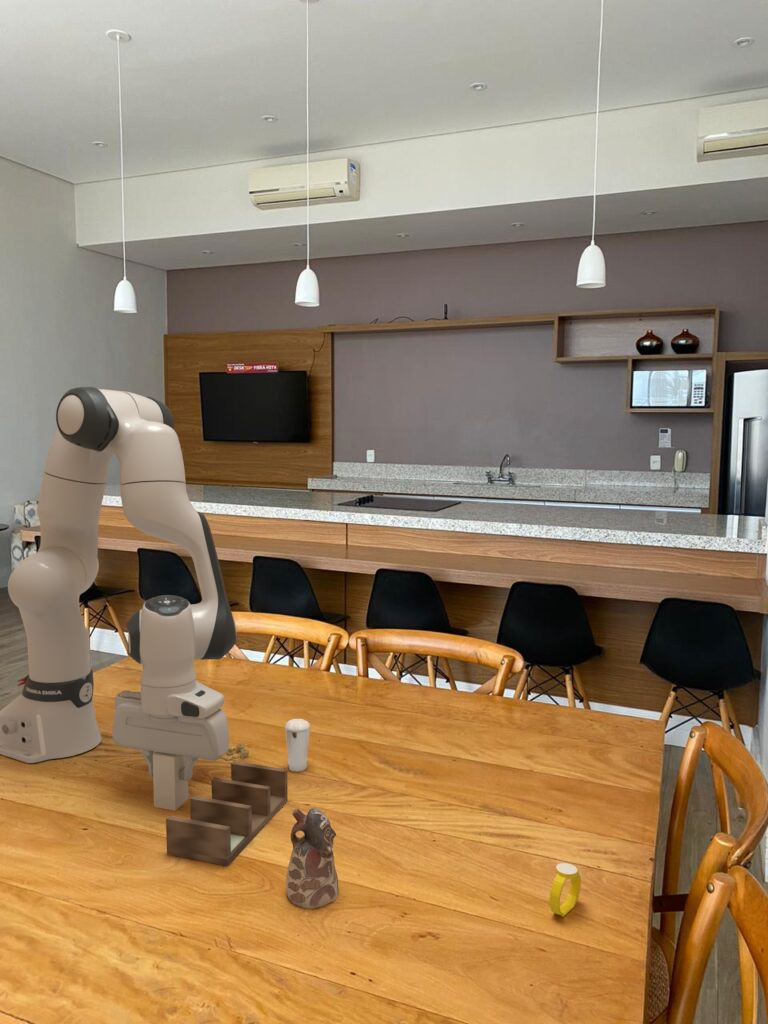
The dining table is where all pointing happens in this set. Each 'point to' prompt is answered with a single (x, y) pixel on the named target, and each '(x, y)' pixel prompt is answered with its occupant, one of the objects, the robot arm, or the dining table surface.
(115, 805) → the dining table surface
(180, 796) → the peg
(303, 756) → the milkshake
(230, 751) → the dice set
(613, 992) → the dining table surface
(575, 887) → the watch
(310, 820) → the figurine
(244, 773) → the slot rack
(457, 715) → the dining table surface
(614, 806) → the dining table surface
